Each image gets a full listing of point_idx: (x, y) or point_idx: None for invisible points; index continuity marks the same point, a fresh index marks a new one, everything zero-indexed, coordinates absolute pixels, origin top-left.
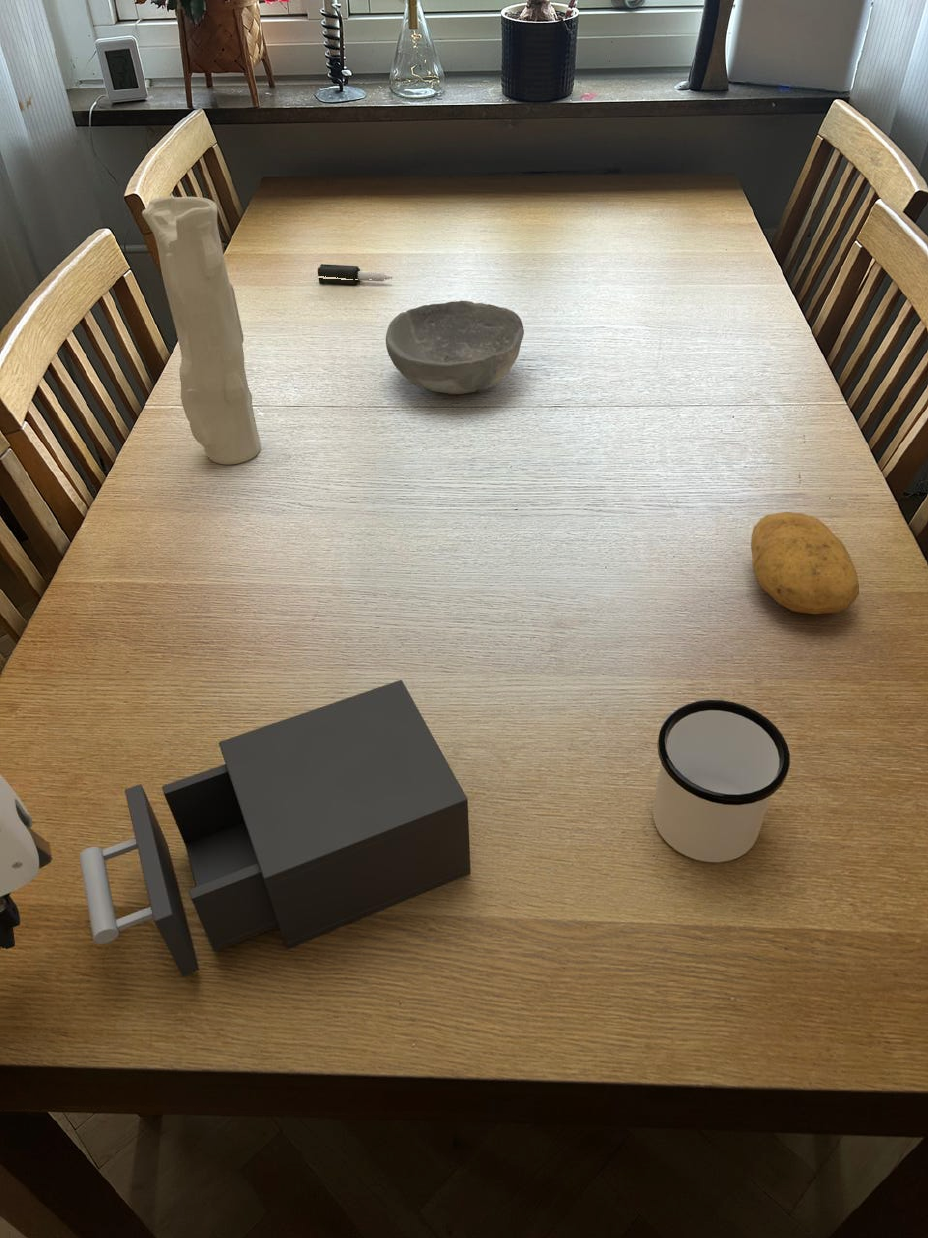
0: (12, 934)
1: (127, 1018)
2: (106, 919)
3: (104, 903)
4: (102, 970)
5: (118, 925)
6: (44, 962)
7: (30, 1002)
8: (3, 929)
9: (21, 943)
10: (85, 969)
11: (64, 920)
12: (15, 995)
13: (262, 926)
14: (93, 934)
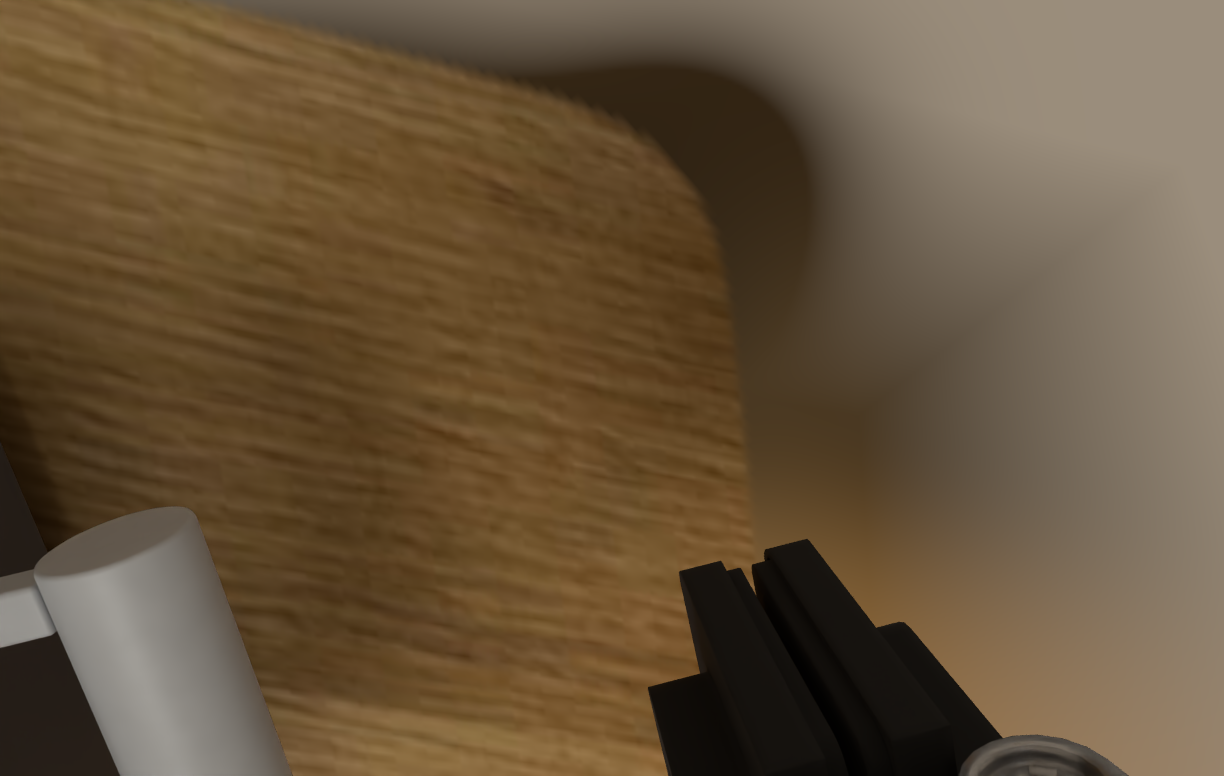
0: (694, 639)
1: (236, 205)
2: (82, 647)
3: (124, 752)
4: (379, 440)
5: (23, 597)
6: (622, 515)
7: (659, 359)
8: (718, 677)
9: None
10: (451, 457)
11: (563, 672)
12: (721, 400)
13: None
14: (170, 562)
